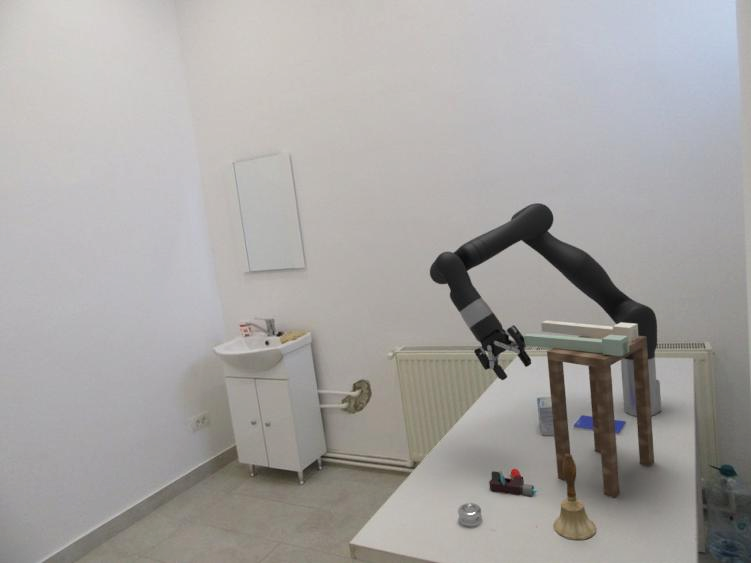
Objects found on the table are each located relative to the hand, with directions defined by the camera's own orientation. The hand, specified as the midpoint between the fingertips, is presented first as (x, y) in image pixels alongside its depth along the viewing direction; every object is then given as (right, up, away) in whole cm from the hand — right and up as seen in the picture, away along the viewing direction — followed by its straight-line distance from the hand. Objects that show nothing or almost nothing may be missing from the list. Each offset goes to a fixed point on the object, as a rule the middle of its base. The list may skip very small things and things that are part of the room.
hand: (516, 372), depth 135 cm
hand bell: (+5, -28, -26) cm, 39 cm away
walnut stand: (+20, -23, -6) cm, 31 cm away
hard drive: (+29, -19, +18) cm, 39 cm away
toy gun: (-2, -27, -7) cm, 28 cm away
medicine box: (+14, -20, +19) cm, 32 cm away
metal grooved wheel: (-15, -30, -19) cm, 38 cm away
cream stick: (+17, +10, -2) cm, 20 cm away
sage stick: (+10, +8, -12) cm, 17 cm away
